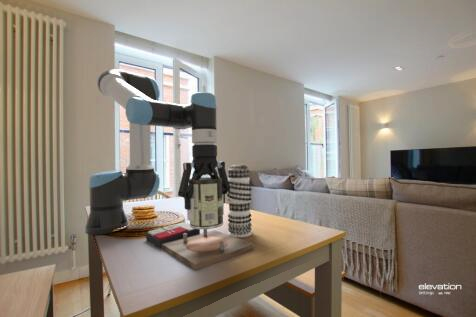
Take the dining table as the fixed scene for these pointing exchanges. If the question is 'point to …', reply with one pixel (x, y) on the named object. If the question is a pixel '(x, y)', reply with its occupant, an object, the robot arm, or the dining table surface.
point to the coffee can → (207, 203)
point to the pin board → (206, 248)
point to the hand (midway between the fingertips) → (206, 217)
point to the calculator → (170, 234)
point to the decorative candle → (239, 201)
